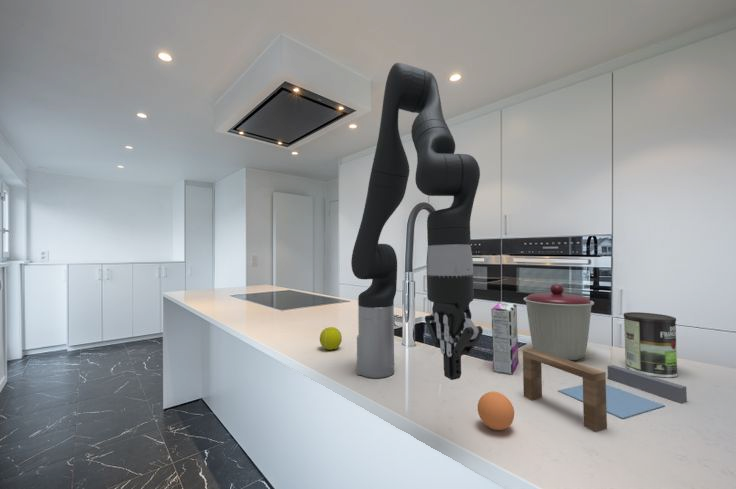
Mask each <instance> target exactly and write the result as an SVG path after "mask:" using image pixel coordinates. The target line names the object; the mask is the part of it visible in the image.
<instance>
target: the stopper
mask: <svg viewBox="0 0 736 489" xmlns="http://www.w3.org/2000/svg"><path fill="white" fill-rule="evenodd" d="M607 379H608V380H611V381H613V382H617V383H620V384H623V385H626V386H629V387H630V388H631V387H632V388H635V389H637V390H641V391H644V392H645V393H646V392H647V393H650V394H652V395H656V396H658V397H662V398H664V399H667V400H670V401H674V402H676V403H678V404H683V403H687V402H688V401H687V400H688V398H687V397H688V396H687V394H688V393H687V386H685V385H682V384H679V383H675V382H672V381H668V380H665V379H663V378H662V379H661V378H660V377H655V376H649V375H645V374H642V373H638V372H635V371H632V370H629V369H628V368H626V367H625V368H624V367H622V366H617V365H616V364H615V365H614V364H611V365H607Z"/></svg>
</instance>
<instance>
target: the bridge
mask: <svg viewBox="0 0 736 489" xmlns="http://www.w3.org/2000/svg"><path fill="white" fill-rule="evenodd" d="M542 364H544V365H547V366H549V367H552V368H554V369H557V370H559V371H560V370H561V371H563V372H566V373H569V374H572V375H574V376H577V377H580V378H582V385H583V402H582V408H583V411H582V412H583V427H584V428H586V429H589V430H590V431H592V432H594V433H598V432H600V431H604V430H607V429H608V415H607V414H608V413H607V408H606V385H607V383H606V382H607V380H606V379H607V378H606V377H607V375H606V374H607V373H606V371H603V370H600V369H597V368H594V367H591V366H589V365H585V364H582V363H578V362H576V361H569V360H566V359H563V358H560V357H557V356H554V355H551V354H548V353H545V352H541V351H538V350H535V349H534V348H530V349H524V350H522V374H523V375H522V379H523V380H522V381H523V382H522V383H523V397H524V398H526V399H528V400H530V401H534V400H539V399H542V398H543V383H542V382H543V379H542V375H543V374H542V372H543V371H542Z"/></svg>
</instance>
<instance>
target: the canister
mask: <svg viewBox="0 0 736 489" xmlns="http://www.w3.org/2000/svg"><path fill="white" fill-rule="evenodd" d="M549 291H550V292H536V293H531V294H528V295H527V296H525V297H523V301H524V302H526V303H525V305H526V311H527V312H526V313H527V319H528V327H529V332H530V333H529V334H530V339H531V344H532V347H533V348H532V349H535V350H538V351H541V352H545V353H548V354H551V355H554V356H557V357H560V358H563V359H566V360H569V361H573V362H575V361H579V360H581V359H583V358H584V356H586V354H587V350H588V349H587V348H588V340H589V332H590V323H591V314H592V313H591V312H592V306H594V305H595V302H594V301H593V300H590V298H588V297H586V296H583V295H580V294H572V293H564V291H565V288H564V286H563V285H561V284H558V283H557V284H552V285H551V286H550V287H549Z"/></svg>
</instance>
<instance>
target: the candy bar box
mask: <svg viewBox="0 0 736 489" xmlns="http://www.w3.org/2000/svg"><path fill="white" fill-rule="evenodd" d="M517 305H518V304H517V303H511V302H498V303H497V304H496V305H495V306H493V307H492V308H491V309H490V310H491V334H492V338H491V339H492V362H493V363H492V364H493V365H492V367H493V372H496V373H499V374H506V375H513V374H514V372H515V370H516V368H517V366H518V363H519V360H520V359H519V338H518V337H519V334H518V313H517V312H518V311H517V310H518V309H517V308H518V307H517Z"/></svg>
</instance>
